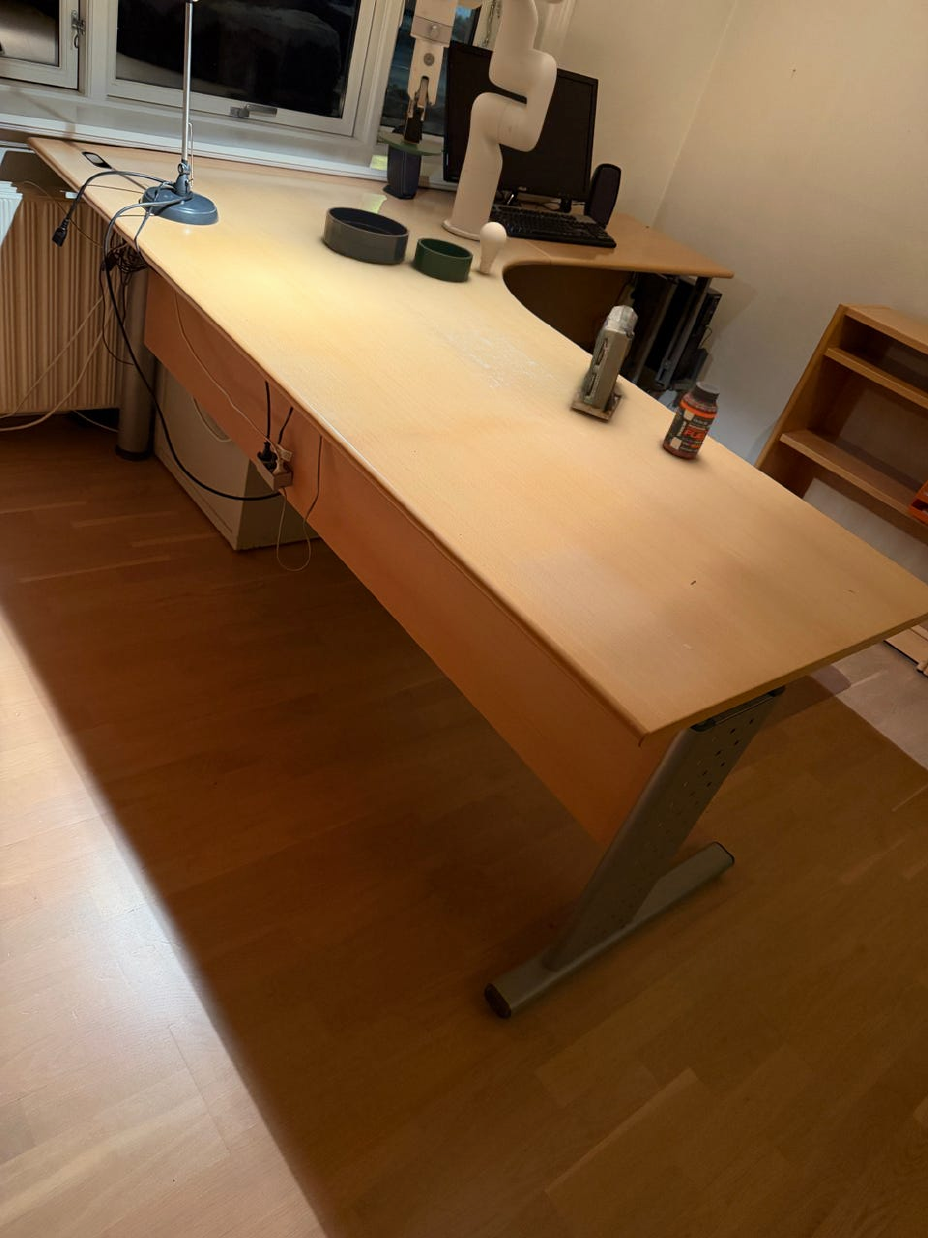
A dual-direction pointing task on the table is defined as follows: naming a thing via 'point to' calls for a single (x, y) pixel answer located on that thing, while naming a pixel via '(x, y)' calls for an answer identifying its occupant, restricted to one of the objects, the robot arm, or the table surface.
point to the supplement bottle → (692, 421)
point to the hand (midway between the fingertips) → (410, 138)
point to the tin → (442, 260)
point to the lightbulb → (491, 244)
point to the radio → (607, 364)
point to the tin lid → (409, 144)
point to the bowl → (365, 235)
